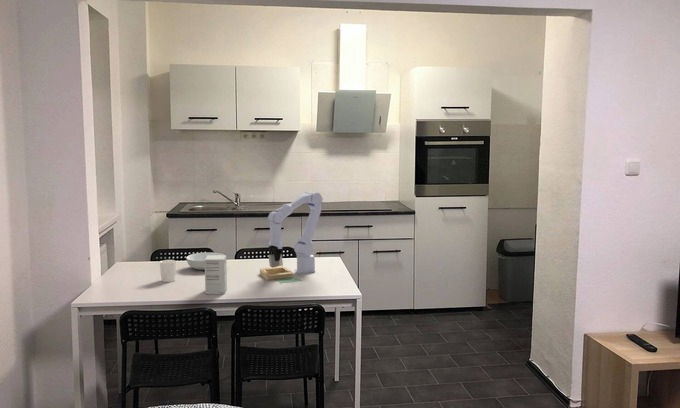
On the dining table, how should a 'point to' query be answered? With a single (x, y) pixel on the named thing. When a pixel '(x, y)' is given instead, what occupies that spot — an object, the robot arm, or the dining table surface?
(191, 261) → the serving bowl
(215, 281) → the supplement box
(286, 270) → the tan wooden shallow tray
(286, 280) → the flat green panel
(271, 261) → the grey box
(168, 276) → the white cup
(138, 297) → the dining table surface
